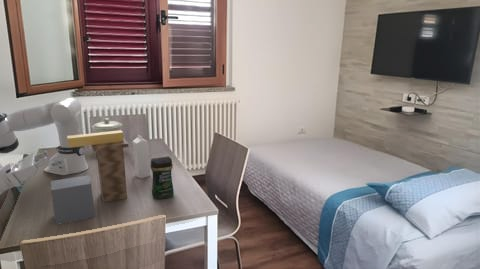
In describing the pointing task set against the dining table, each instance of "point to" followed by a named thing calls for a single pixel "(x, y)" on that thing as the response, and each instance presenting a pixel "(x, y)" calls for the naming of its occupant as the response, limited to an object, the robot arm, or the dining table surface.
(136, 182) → the dining table surface
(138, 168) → the milk
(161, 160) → the coffee jar
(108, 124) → the canister
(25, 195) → the dining table surface
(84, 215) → the podium
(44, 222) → the dining table surface
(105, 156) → the walnut stand
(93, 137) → the yellow bar
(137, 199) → the dining table surface
